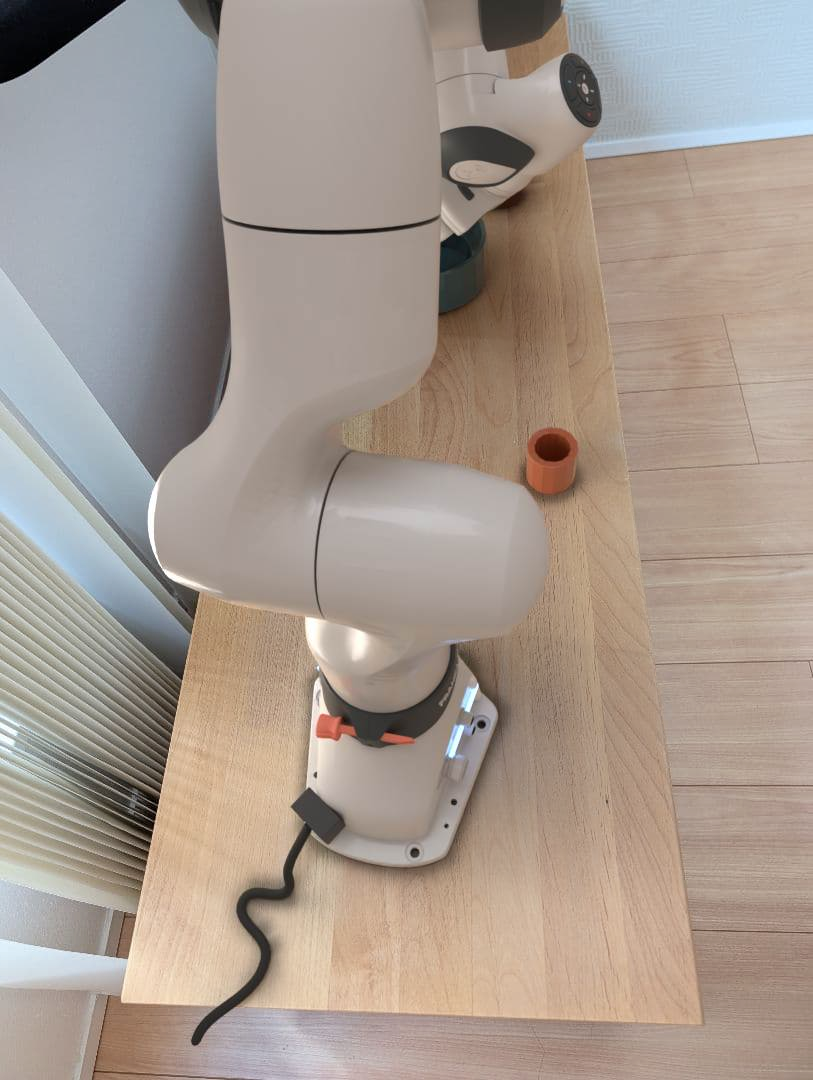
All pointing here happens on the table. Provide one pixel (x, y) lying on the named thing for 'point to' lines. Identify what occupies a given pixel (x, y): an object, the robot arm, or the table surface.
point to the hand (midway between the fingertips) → (422, 213)
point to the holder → (551, 460)
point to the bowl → (462, 267)
